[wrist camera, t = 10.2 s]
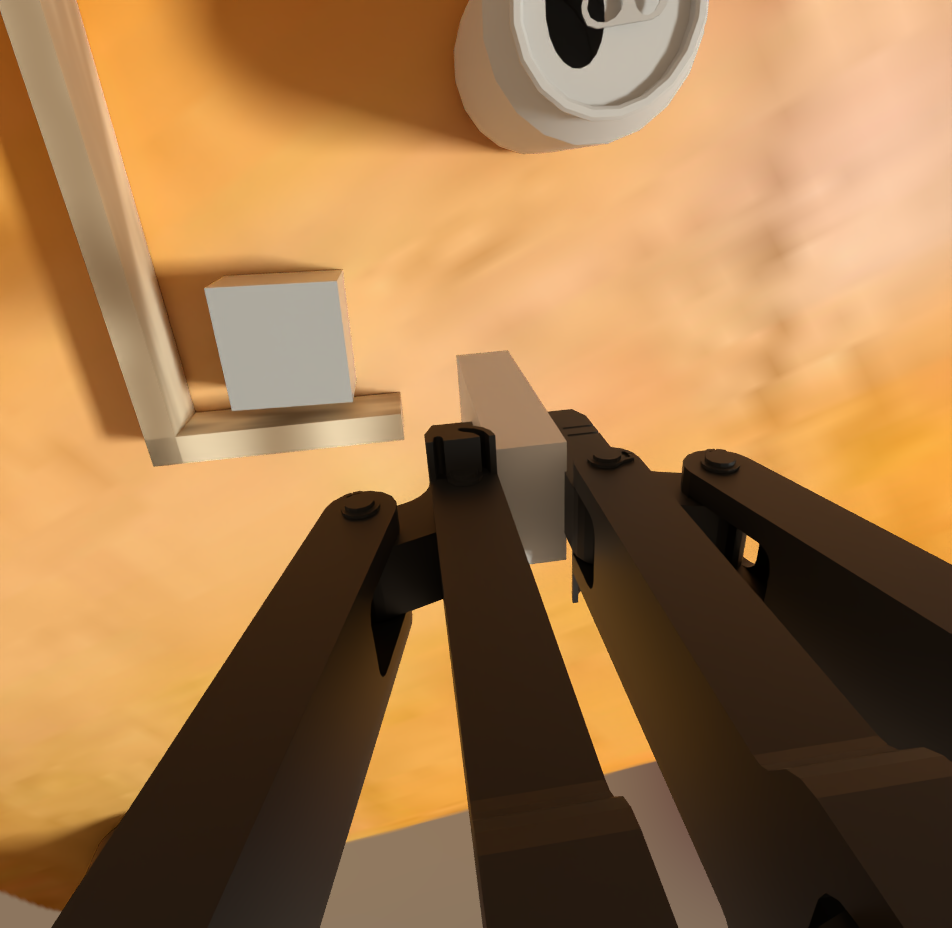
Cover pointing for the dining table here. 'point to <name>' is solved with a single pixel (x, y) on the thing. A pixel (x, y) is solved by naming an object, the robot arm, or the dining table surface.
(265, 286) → the pale grey square block
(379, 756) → the dining table surface
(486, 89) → the can
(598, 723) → the dining table surface
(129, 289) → the tray
